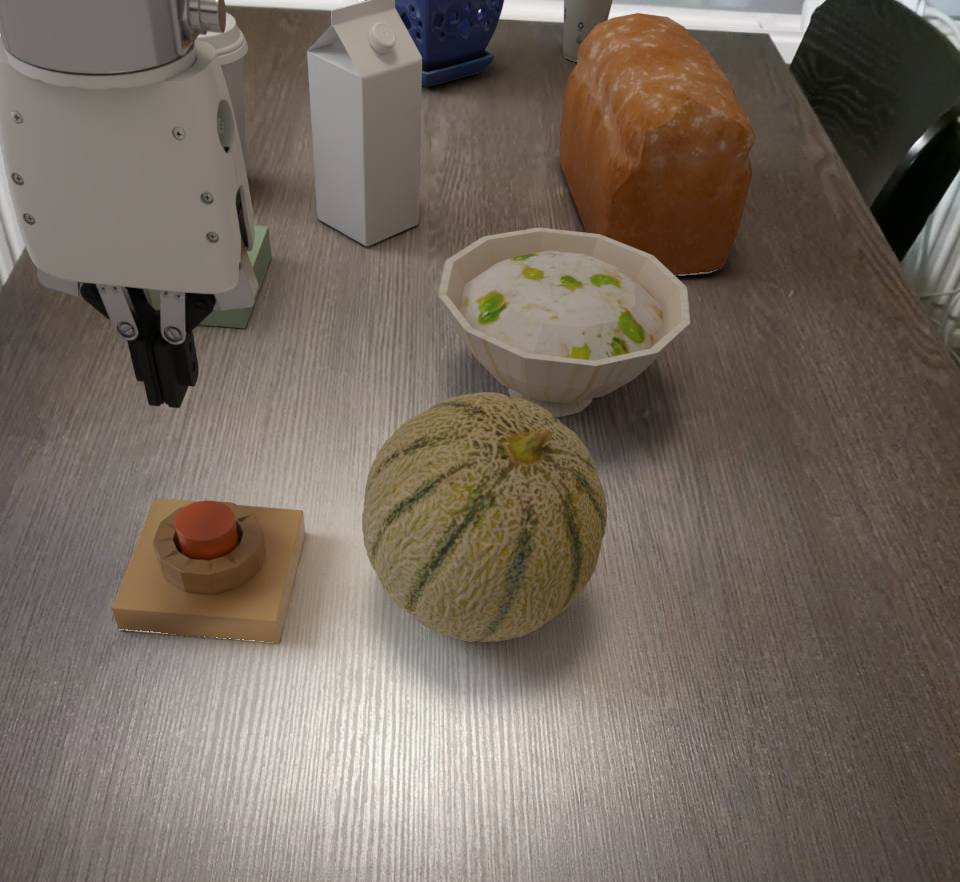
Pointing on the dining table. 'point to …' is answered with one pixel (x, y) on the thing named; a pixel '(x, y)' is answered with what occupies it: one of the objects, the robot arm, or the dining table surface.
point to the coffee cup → (232, 69)
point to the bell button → (206, 530)
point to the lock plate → (260, 263)
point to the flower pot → (450, 35)
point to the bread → (656, 143)
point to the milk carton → (366, 122)
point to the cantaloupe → (484, 517)
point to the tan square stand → (213, 577)
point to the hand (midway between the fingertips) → (171, 391)
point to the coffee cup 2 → (581, 22)
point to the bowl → (562, 312)
